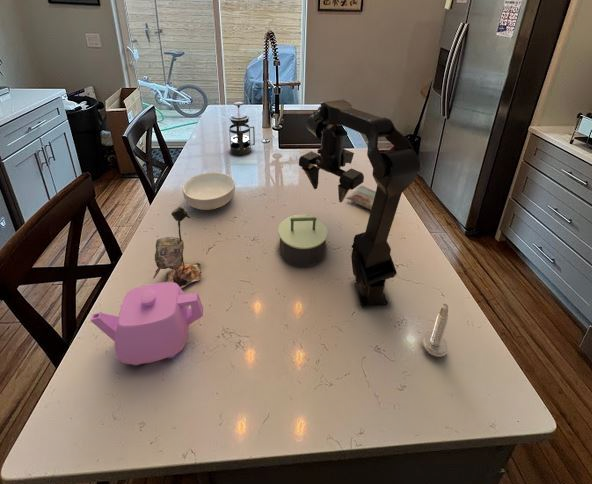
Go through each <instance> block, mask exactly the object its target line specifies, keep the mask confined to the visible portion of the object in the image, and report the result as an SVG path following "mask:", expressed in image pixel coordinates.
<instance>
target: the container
mask: <svg viewBox="0 0 592 484" xmlns="http://www.w3.org/2000/svg"><path fill="white" fill-rule="evenodd" d="M326 242H327V239H326V240H325V241H324V242H323V243H322V244H321V245H319V246H317V247H315V248H311V249H297V248H293V247H291V246H289V245H287V244H285V243H284V242H283V241H282V240H281V239H280V238H279V253H280V256H281V257H282V259H283V260H284V261H285V262H287V264H290V265H292V266H295V267H300V268H301V267H302V268H304V267H305V268H306V267H311V266H314V265H316V264H317V263H319V262H320V261H321V260H323V258H324V256H325V251H326Z"/></svg>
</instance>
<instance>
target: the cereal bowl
mask: <svg viewBox="0 0 592 484" xmlns="http://www.w3.org/2000/svg"><path fill="white" fill-rule="evenodd" d="M235 190H236V182H235V180H234V178H233V177H232V176H230V175H229V174H227V173H223V172H218V171H212V172H211V171H210V172H209V171H208V172H203V173H198V174H196V175H193V176H191V177H190V178H189V179H187V180H186V181H185V182H184V184H183V186H182V194H183V198H184V200H185V202H186V203H187V204H188V205H189V206H191V207H192V208H194V209H197V210H201V211H209V210H210V211H211V210H215V209H219V208H221V207H224V206H225V205H226V204H228V203H229V202H230V201H231V200H232V199H233V196H234V194H235Z"/></svg>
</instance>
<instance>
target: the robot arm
mask: <svg viewBox="0 0 592 484" xmlns="http://www.w3.org/2000/svg"><path fill="white" fill-rule="evenodd" d="M305 124H306V125H305V127H306V129H307V131H308V132H310V133H311V134H313V136H315V137H316V138H317V139H319V140H320V148H318V149H317V153H316V152H314V151H309V152H306V153H304V154H303V155H301V156H300V157H299V158H298V166H299V167H301V170H303V172H304V173H305V175H306V176H307V179H308V180H309V183H310V184H311V186H312V188H313V190H317V189H318V187H319V177H320V175H319V174H320V170H322V171H324V172H326V173H330V174H333V175H334V176H337V177H339V179H338V183H339V184H338V185H337V189H338V201H339V203H342V202H344V200H345V197H347V194H348V192H349V191H351V190H354V189H357V188H358V187H359V186H361V184H363V183H364V180H365V176H364V174H363V172H362V171H358V170H357V169H354V168H352V167H351V168H349V169H348V170H344V169H342V168H344V167H346V164H349V165H351V164H352V162H353V158H354V154H355V152H353V151H351V150H348V149H346V148H345V147H343V142H344V137H346V136H348V131H347V130H346V129H345V128H347V129H350V130H352V131H355V132H357V133H360V134H362V135H365V137H366V139H367V152H366V155H367V158H368V160H369V162H370V165H371V167H372V177H373V179H374V181H375V183H376V190H375V191H376V193H375V197H374V201H373V205H372V209H371V210H370V213H369V216H368V221H367V224H366V228H365V232H361V233H357V234H355V235H354V237H353V242H352V245H351V248H352V249H351V255H350V256H351V266H352V274H353V275H354V277H355V280H354V281H355V282H354V288H355V291H356V295H357V298H358V301H359V304H360V306H361V307H362V308H363V307H379V306H380V307H381V306H388V304H389V302H388V299H387V297H386V294H385V286H386V280H389V279H393V278H395V276H397V274H398V272H397V270H396V266H395V264H394V260H393V258H392V254H391V252H392V248H391V246H390V244H389V242H388V238H389V235H390V231H391V229H392V225H393V222H394V219H395V216H396V212H397V209H398V206H399V204H400V200H401V198H402V194H403V192H404V191H406V190H407V189H408V188H409V187H410V186H411V185H412V184H413V183H414V182H415V180H416V178H417V176H418V174H419V172H420V170H421V162H420V158H419V156H418V155H417V153H416V150H415V149H414V147H413V145H412V142H411V141H410V140H409V138H407V137H406V136H404V135H403V134H402V133H401V132H400V131H399V130H397V128H396V126H395V124H394V123H393V120H392V119H390V118H387V117H386V116H385V117H381V116H378V115H375V114H371V113H369V112H365V111H362V110H359V109H356V108H353V107H352V104H351V103H350V102H348V101H347V100H345V99H337V100H327V101H321V102H320V106H319V107H318V108H317V109H316V110H313V111H312V114H311V115H310V116H309V117H308V119H307V121H306V123H305ZM344 127H345V128H344ZM382 138H385V139H386V140H387V141H388V142H389V143H390V144H391V145H392V146H394V147H395V148H396V149H394V150H389V151H388V150H387V151H383V152H380V149H379V147H378V144H379V139H382ZM341 167H342V168H341Z"/></svg>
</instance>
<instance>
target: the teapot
mask: <svg viewBox="0 0 592 484" xmlns="http://www.w3.org/2000/svg"><path fill="white" fill-rule="evenodd" d="M189 306H190V308H189ZM203 316H204V305H203V303H202V300H201V298H200V295H199V292H198V291H195V292H190V293H185V292H184V291H183V288H180V287H179V286H178V284H176V283H173V282H166V281H164V282H155V283H149V284H145V285H140V286H137V287H134V288H132V289H130V290H128V291H127V292H126V293H125V295H124V297H123V300H122V304H121V306H120V310H119V314H118V316H117V315H113V314H108V313H105V312H102V311H100V312H95V313H92V315H91V317H90V322H91V323H92V324H94V325H95V326H96V327H97V328H98V329H99V330H100V331H101V332H103V334H105V335H107V336H108V338H110V339H111V340H112V341H113V342H114V351H115V352H114V353H115V357H116V358H117V360H118V361H119V362H121V363H122V364H127V365H132V366H139V365H141V364H142V365H143V364H149V363H155V362H158V361H161V360H164V359H166V358H167V359H172V358H175V356H177V354H178V353H180V352H181V351H182V350H183V349H184V348H185V346H186V345H185V344H186V343H187V339H188V333H189V327H190V325H191V324H193V323H195V322H197V321H198V320H199V319H201V318H203Z"/></svg>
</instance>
